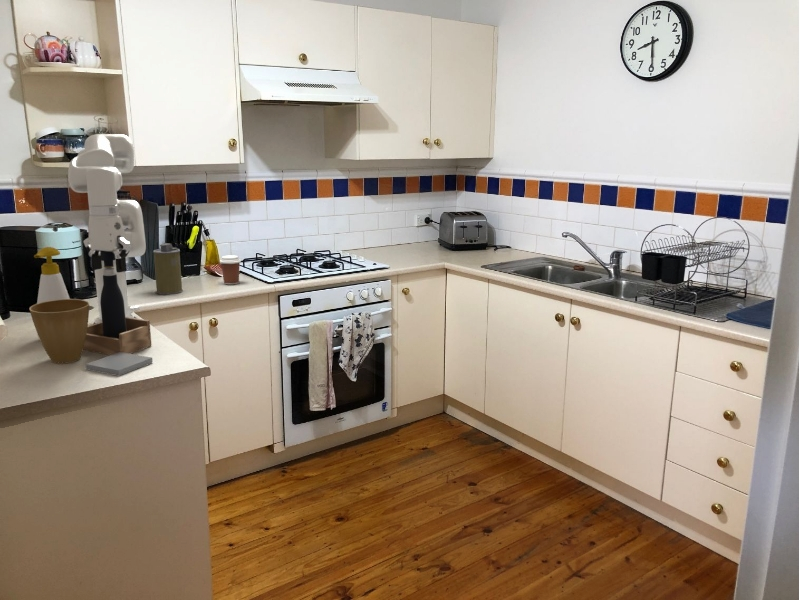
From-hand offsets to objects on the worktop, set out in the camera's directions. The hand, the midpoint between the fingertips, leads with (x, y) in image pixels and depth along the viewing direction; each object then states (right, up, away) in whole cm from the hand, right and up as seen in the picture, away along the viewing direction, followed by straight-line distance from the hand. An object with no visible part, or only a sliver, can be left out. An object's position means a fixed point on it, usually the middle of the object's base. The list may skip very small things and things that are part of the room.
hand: (109, 270), depth 193 cm
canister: (-11, -5, +82) cm, 82 cm away
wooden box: (0, -23, +6) cm, 24 cm away
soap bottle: (-22, -21, +13) cm, 33 cm away
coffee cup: (+10, -1, +99) cm, 100 cm away
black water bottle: (0, -23, +6) cm, 24 cm away
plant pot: (-10, -26, -6) cm, 28 cm away
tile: (+8, -27, -10) cm, 30 cm away
